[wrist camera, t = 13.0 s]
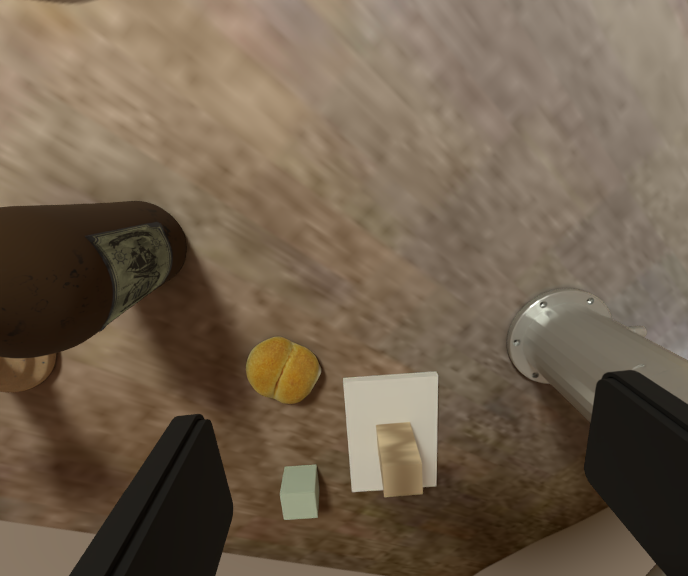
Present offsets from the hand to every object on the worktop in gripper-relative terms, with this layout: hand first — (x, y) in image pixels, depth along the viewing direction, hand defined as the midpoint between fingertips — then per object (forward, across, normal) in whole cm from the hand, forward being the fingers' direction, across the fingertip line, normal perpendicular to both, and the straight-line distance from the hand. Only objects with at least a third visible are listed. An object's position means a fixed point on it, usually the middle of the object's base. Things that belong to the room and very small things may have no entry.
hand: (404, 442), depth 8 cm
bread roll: (+33, +10, +16) cm, 38 cm away
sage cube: (+32, +10, +34) cm, 48 cm away
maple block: (+31, -3, +28) cm, 42 cm away
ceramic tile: (+32, -3, +28) cm, 43 cm away
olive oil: (+33, +23, -1) cm, 40 cm away
